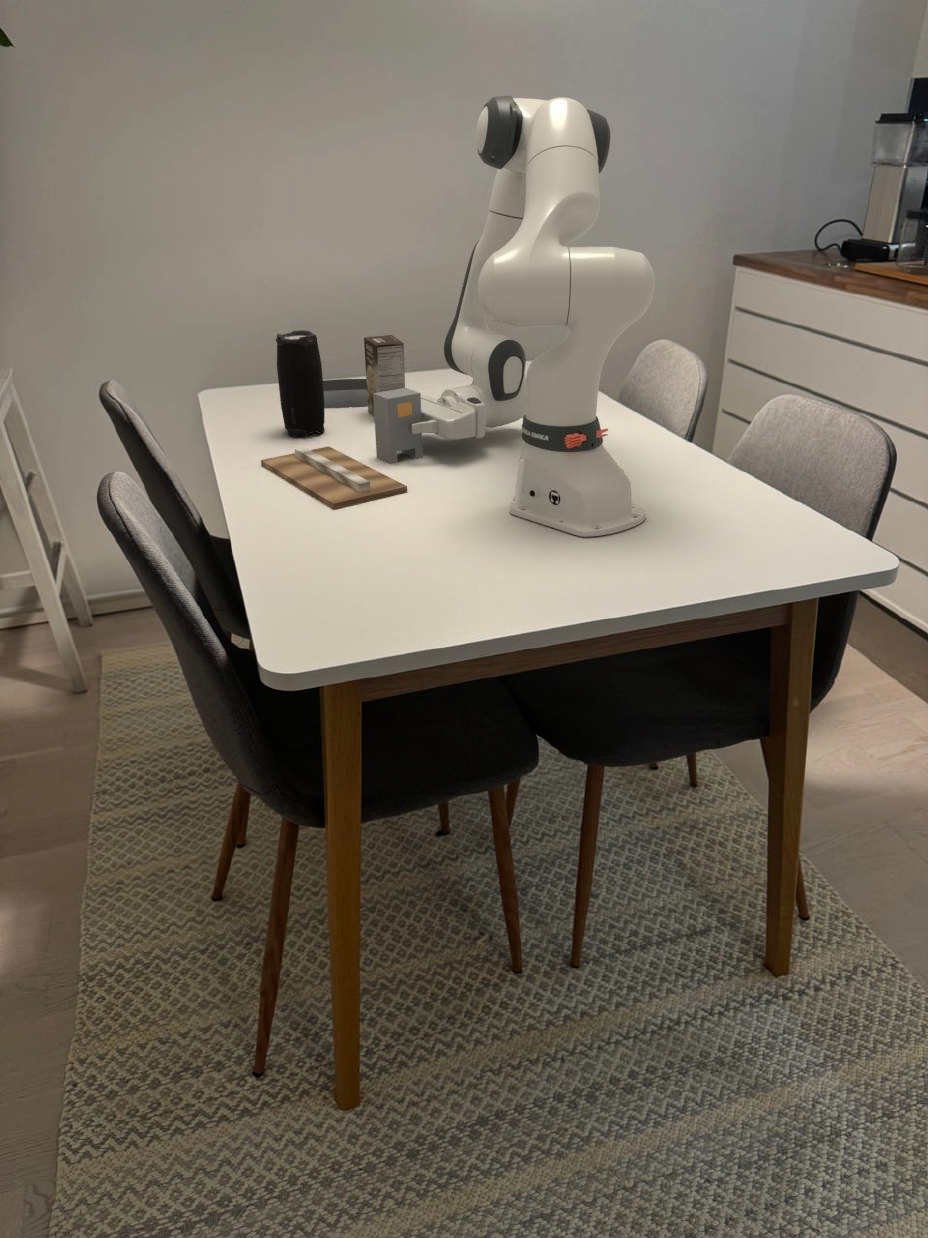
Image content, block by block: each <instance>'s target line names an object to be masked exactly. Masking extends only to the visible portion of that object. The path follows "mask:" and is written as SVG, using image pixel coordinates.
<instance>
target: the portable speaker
mask: <svg viewBox="0 0 928 1238" xmlns="http://www.w3.org/2000/svg"><path fill="white" fill-rule="evenodd" d="M275 342H276V369H277V371H276V372H277V380H278V391H279V399H280V408H281V413H282V417H283V419H282V420H283V423H284V429H285V430H286V432H287V434H288V436H289V437H291V438H301V439H303V438H304V439H306V437H307V436H308V434H312V433H318V434H319V435H324V432H325V430H326V429H325V408H324V389H323V381H324V378H323V377H324V376H323V366H322V359H321V354H320V353H321V352H320V349H319V344H318V337H317V335H316V334H315V333H313V332H312V331H310V330H304V329H303V330H301V329H300V330H293V331H291V332H288V333H283V334H281V333H277V334H276V338H275Z"/></svg>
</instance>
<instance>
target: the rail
mask: <svg viewBox="0 0 928 1238" xmlns="http://www.w3.org/2000/svg"><path fill="white" fill-rule="evenodd" d="M260 465H261V466H262V467H263V468H265V469H266V470H268V471H270V472H272V473H274V474H275V475H277V476H278V477H280V478H281V479H283V480H285V481H287V482H289V484H291V485H293V486H294V487H296V488H298V489H300V490H301V491H302V492H304V493H306V494H308V495H309V496H311V497H312V498H314V499H316V500H317V501H319V502H321V503H322V504H324V505H326V506H327V507H329V508H330V509H333V510H337V509H343V508H346V507H350V506H355V505H358V504H363V503H367V502H370V501H374V500H375V501H376V500H380V499H383V498H384V499H385V498H387V497H392V496H395V495H398V494H399V495H400V494H403V493H408V485H406V484H403V483H402V482H400V481H398V480H396V479H394V478H392V477H390V476H388V475H386V474H384V473H382V472H380V471H379V470H376V469H374V468H372V467H370V466H368V465H366V464H364V463H362V462H361V461H359V460H357V459H354V458H352V457H351V456H348V455H347V454H345V453H342V452H341V451H340V450H337V449H335V448H333V447H332V446H324V447H318V448H314V449H310V448H307V447H306V446H302V447H298V448H297V447H296V448H294V452H292V453H288V454H284V455H280V456H273V457H269V458H265V459H264V458H263V459H260Z"/></svg>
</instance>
